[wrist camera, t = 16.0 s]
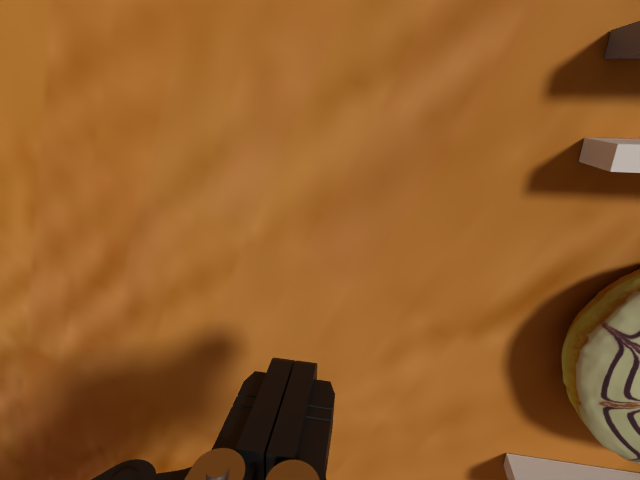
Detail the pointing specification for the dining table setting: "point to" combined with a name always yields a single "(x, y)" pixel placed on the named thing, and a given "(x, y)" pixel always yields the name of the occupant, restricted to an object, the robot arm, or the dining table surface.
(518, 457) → the white u-shaped bracket
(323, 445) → the robot arm
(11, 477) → the dining table surface
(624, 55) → the grey u-shaped handle
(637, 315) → the decorated donut
